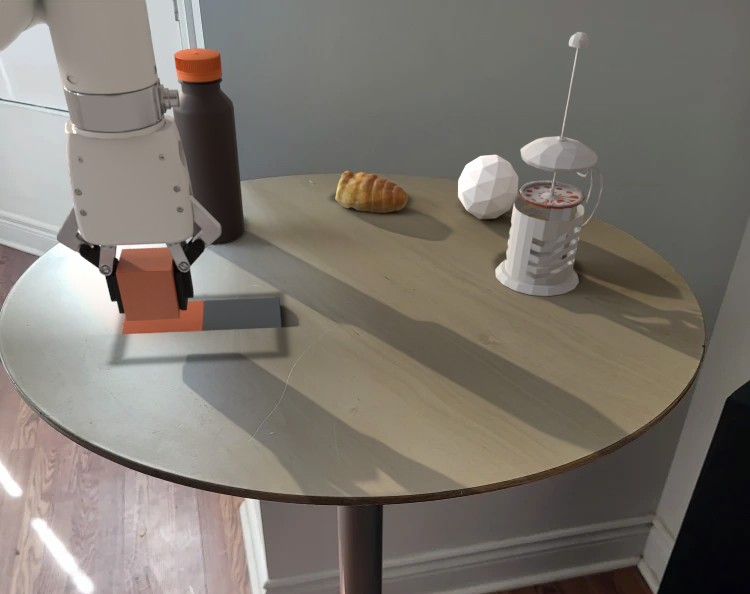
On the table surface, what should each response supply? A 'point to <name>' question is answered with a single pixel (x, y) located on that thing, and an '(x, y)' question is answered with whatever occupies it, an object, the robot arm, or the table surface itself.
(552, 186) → the french press
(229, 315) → the mat
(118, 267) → the terracotta block
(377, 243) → the table surface
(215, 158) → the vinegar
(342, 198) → the pastry
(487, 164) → the geometric ball
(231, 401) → the table surface
